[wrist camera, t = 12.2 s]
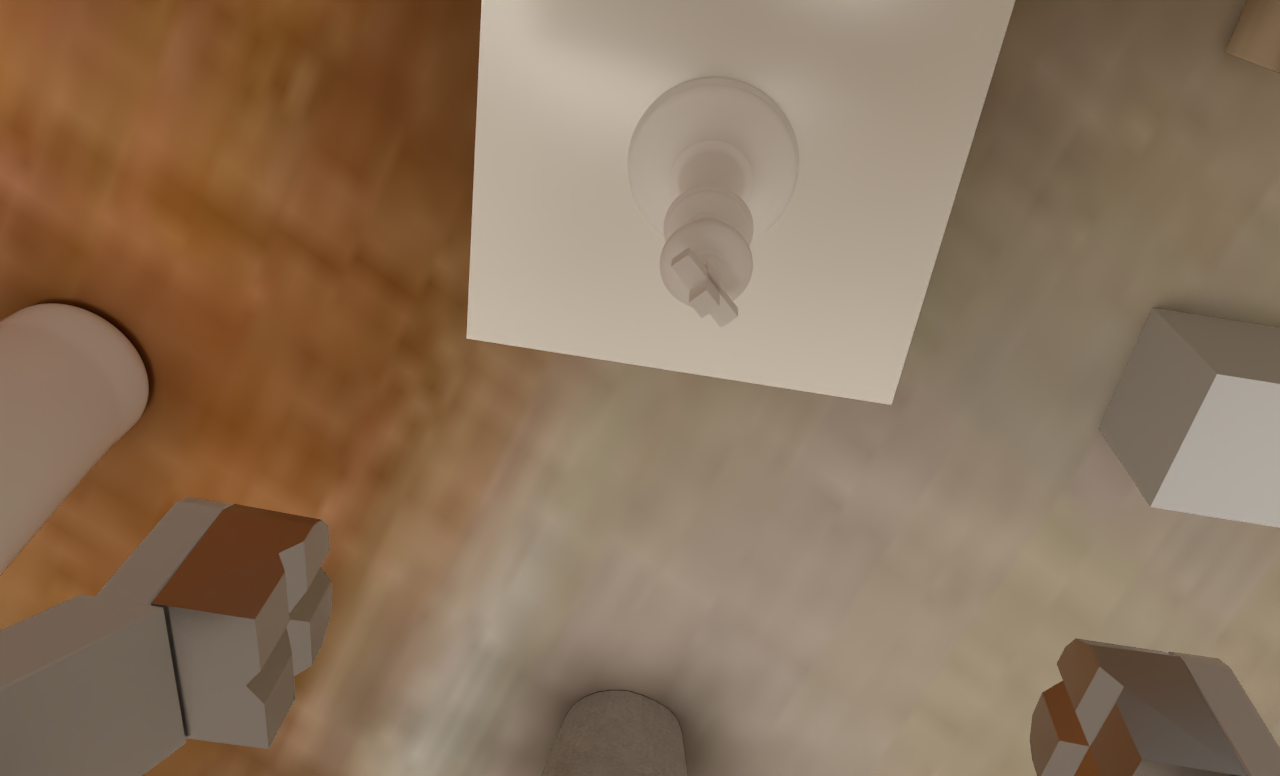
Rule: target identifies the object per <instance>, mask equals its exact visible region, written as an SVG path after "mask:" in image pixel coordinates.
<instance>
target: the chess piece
mask: <svg viewBox="0 0 1280 776" xmlns="http://www.w3.org/2000/svg"><path fill="white" fill-rule="evenodd" d="M798 169H799V154H798V146H797V142H796V138H795V135H794V132H793V129H792V127H791V125H790V123H789V121H788V119H787V117H786V116H785V114H784V113H783V112H782V110H781V109H780V108H779V107H778V105H777V104H776V103H775V102H774V101H773V100H771V99H770V98H769V97H768V96H767V95H766V94H764V93H763V92H761V91H760V90H758V89H756V88H754V87H752V86H750V85H748V84H746V83H743V82H740V81H736V80H732V79H727V78H702V79H697V80H692V81H689V82H686V83H683V84H681V85H678V86H676V87H674V88H672V89H671V90H669V91H667V92H666V93H664V94H663V95H662V96H660V97H659V98H658V99H657V100H656V101H655V102H653V104H652V105H651V106H650V107H649V108H648V109H647V110H646V111H645V113H644V114H643V116H642V117H641V119H640V120H639V122H638V124H637V126H636V128H635V130H634V133H633V135H632V138H631V142H630V146H629V152H628V175H629V181H630V186H631V191H632V194H633V197H634V199H635V202H636V204H637V206H638V208H639V210H640V211H641V213H642V215H643V216H644V217H645V219H646V220H647V221H648V222H649V223H650V225H651V226H652V227H653V228H654V229H656V230H657V231H658V232H659V233H660V234H662V235H663V236H664V237H665V241H666V243H665V245H664V247H663V250H662V253H661V257H660V273H661V277H662V280H663V282H664V284H665V286H666V288H667V289H668V291H669V292H670V293H671V294H672V295H673V296H674V297H675V298H676V299H677V300H679V301H680V302H682V303H684V304H686V305H688V306H691V307H693V308H694V309H695V311H696V312H697V313H698V314H699V316H700V317H701V318H703V317H705V316H706V315H708V314H710V315H711V316H712V318H713V319H714V320H715V321H716V323H717V324H718V325H719V326H720V328H722V327H723V326H725V325H726V324H728V323H729V322H731V321H732V320H734V319H735V318H737V317H738V307H737V306H736V305H735V304H734V302H733V301H734V300H735V299H736V298H738V297H739V296H740V295H741V294H742V293H743V291H744V290H745V289H746V287H747V285H748V284H749V281H750V279H751V275H752V271H753V258H752V254H751V250H750V248H749V246H750V244H751V241H753V240H755V239H756V238H758V237H759V236H761V235H762V234H764V233H765V232H766V231H767V230H769V229H770V228H771V227H772V226H773V225H774V224H775V223H776V222H777V220H778V219H779V218H780V217H781V215H782V214H783V212H784V211H785V209H786V207H787V206H788V204H789V202H790V199H791V197H792V194H793V191H794V188H795V185H796V181H797V176H798Z"/></svg>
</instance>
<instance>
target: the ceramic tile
mask: <svg viewBox="0 0 1280 776" xmlns="http://www.w3.org/2000/svg"><path fill="white" fill-rule="evenodd" d="M1014 4H1015V0H482V3H481V26H480V48H479V71H478V93H477V115H476V138H475V160H474V183H473V205H472V227H471V250H470V272H469V294H468V317H467V339H473V340H479V341H486V342H492V343H498V344H505V345H511V346H518V347H524V348H530V349H537V350H543V351H550V352H556V353H562V354H569V355H575V356H582V357H588V358H594V359H601V360H607V361H614V362H620V363H627V364H633V365H639V366H646V367H652V368H659V369H665V370H671V371H678V372H684V373H691V374H697V375H703V376H710V377H716V378H723V379H729V380H735V381H742V382H748V383H755V384H761V385H767V386H774V387H780V388H787V389H793V390H799V391H806V392H812V393H819V394H825V395H831V396H838V397H844V398H851V399H857V400H863V401H870V402H876V403H883V404H889V405H892V401H893V398H894V395H895V392H896V388H897V385H898V382H899V378H900V375H901V372H902V369H903V365H904V362H905V359H906V356H907V352H908V349H909V346H910V343H911V339H912V336H913V333H914V330H915V326H916V323H917V320H918V317H919V313H920V310H921V307H922V303H923V300H924V297H925V294H926V290H927V287H928V284H929V281H930V277H931V274H932V271H933V268H934V264H935V261H936V258H937V255H938V251H939V248H940V245H941V242H942V238H943V235H944V232H945V229H946V225H947V222H948V219H949V215H950V212H951V209H952V206H953V202H954V199H955V196H956V193H957V189H958V186H959V183H960V180H961V176H962V173H963V170H964V167H965V163H966V160H967V157H968V154H969V150H970V147H971V144H972V140H973V137H974V134H975V131H976V127H977V124H978V121H979V118H980V114H981V111H982V108H983V105H984V101H985V98H986V95H987V92H988V88H989V85H990V82H991V79H992V75H993V72H994V69H995V65H996V62H997V59H998V56H999V52H1000V49H1001V46H1002V43H1003V39H1004V36H1005V33H1006V30H1007V26H1008V23H1009V20H1010V17H1011V13H1012V10H1013V7H1014ZM702 78H727V79H732V80H736V81H740V82H743V83H746V84H748V85H750V86H752V87H754V88H756V89H758V90H760V91H761V92H763V93H764V94H766V95H767V96H768V97H769V98H770V99H771V100H773V101H774V102H775V103H776V104H777V105H778V107H779V108H780V109H781V110H782V112H783V113H784V114H785V116H786V117H787V119H788V121H789V123H790V125H791V127H792V129H793V132H794V135H795V138H796V142H797V146H798V154H799V169H798V176H797V181H796V185H795V188H794V191H793V194H792V197H791V199H790V202H789V204H788V206H787V207H786V209H785V211H784V212H783V214H782V215H781V217H780V218H779V219H778V220H777V222H776V223H775V224H774V225H773V226H772V227H771V228H770V229H769V230H767V231H766V232H765V233H764V234H762V235H761V236H759V237H758V238H756V239H755V240H753V241H751V244H750V246H749V248H750V250H751V254H752V258H753V271H752V275H751V279H750V281H749V284H748V285H747V287H746V289H745V290H744V291H743V293H742V294H741V295H740V296H739V297H738V298H736V299H735V300H734V301H733V302H734V304H735V305H736V306H737V307H738V317H737V318H735V319H734V320H732V321H731V322H729V323H728V324H726V325H725V326H723V327H722V328H720V326H719V325H718V324H717V323H716V321H715V320H714V319H713V318H712V316H711V315H710V314H708V315H706V316H705V317H703V318H701V317H700V316H699V314H698V313H697V312H696V311H695V309H694V308H693V307H691V306H688V305H686V304H684V303H682V302H680V301H679V300H677V299H676V298H675V297H674V296H673V295H672V294H671V293H670V292H669V291H668V289H667V288H666V286H665V284H664V282H663V280H662V277H661V273H660V257H661V253H662V250H663V247H664V245H665V243H666V241H665V237H664V236H663V235H662V234H660V233H659V232H658V231H657V230H656V229H654V228H653V227H652V226H651V225H650V223H649V222H648V221H647V220H646V219H645V217H644V216H643V215H642V213H641V211H640V210H639V208H638V206H637V204H636V202H635V199H634V197H633V194H632V191H631V186H630V181H629V175H628V152H629V146H630V142H631V138H632V135H633V133H634V130H635V128H636V126H637V124H638V122H639V120H640V119H641V117H642V116H643V114H644V113H645V111H646V110H647V109H648V108H649V107H650V106H651V105H652V104H653V102H655V101H656V100H657V99H658V98H659V97H660V96H662V95H663V94H664V93H666V92H667V91H669V90H671V89H672V88H674V87H676V86H678V85H681V84H683V83H686V82H689V81H692V80H697V79H702Z"/></svg>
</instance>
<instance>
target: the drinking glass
mask: <svg viewBox="0 0 1280 776" xmlns="http://www.w3.org/2000/svg"><path fill="white" fill-rule="evenodd" d="M148 395H149V382H148V376H147V372H146V369H145V366H144V363H143V361H142V359H141V357H140V355H139V353H138V352H137V350H136V349H135V347H134V346H133V345H132V343H131V342H130V341H129V340H128V339H127V337H126V336H125V335H124V334H123V333H122V332H121V331H119V330H118V329H117V328H116V327H115V326H113V325H112V324H111V323H109V322H108V321H106V320H105V319H103V318H102V317H100V316H98V315H96V314H94V313H92V312H90V311H87V310H85V309H82V308H79V307H76V306H72V305H66V304H58V303H45V304H38V305H33V306H29V307H26V308H23V309H21V310H19V311H17V312H15V313H13V314H11V315H10V316H8V317H6V318H5V319H3V320H2V321H0V576H1V575H2V574H3V572H4V571H5V570H6V569H7V568H8V566H9V565H10V564H11V563H12V562H13V561H14V559H15V558H16V557H17V556H18V555H19V553H20V552H21V551H22V550H23V549H24V548H25V546H26V545H27V544H28V543H29V542H30V540H31V539H32V538H33V537H34V536H35V535H36V533H37V532H38V531H39V530H40V529H41V528H42V526H43V525H44V524H45V523H46V522H47V521H48V519H49V518H50V517H51V516H52V515H53V513H54V512H55V511H56V510H57V509H58V508H59V506H60V505H61V504H62V503H63V502H64V501H65V499H66V498H67V497H68V496H69V495H70V494H71V492H72V491H73V490H74V489H75V488H76V487H77V486H78V484H79V483H80V482H81V481H82V480H83V479H84V477H85V476H86V475H87V474H88V473H89V472H90V471H91V469H92V468H93V467H94V466H95V465H96V464H97V462H98V461H99V460H100V459H101V458H102V457H103V456H104V455H105V453H106V452H107V451H108V450H109V449H110V448H111V447H112V446H113V445H114V444H115V443H116V442H117V441H118V440H119V439H120V438H121V437H122V436H124V435H125V434H126V433H127V432H128V431H129V430H130V429H131V428H132V427H133V426H134V425H135V424H136V423H137V421H138V420H139V419H140V417H141V416H142V414H143V412H144V410H145V407H146V405H147V401H148Z"/></svg>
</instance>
